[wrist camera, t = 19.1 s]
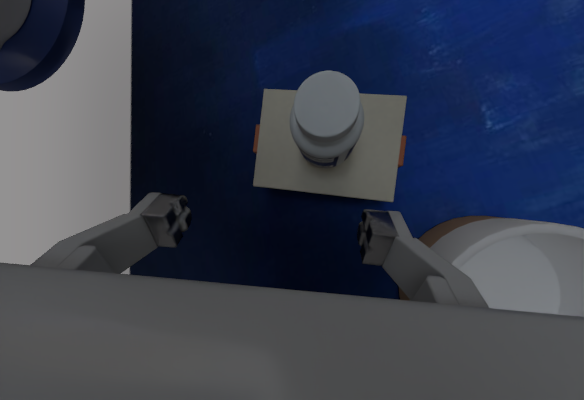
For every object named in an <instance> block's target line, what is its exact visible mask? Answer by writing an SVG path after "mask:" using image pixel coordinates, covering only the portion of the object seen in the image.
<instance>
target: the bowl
mask: <svg viewBox="0 0 584 400" xmlns="http://www.w3.org/2000/svg"><path fill="white" fill-rule="evenodd" d="M418 240H419V241H421V242H422V243H423V244H425V245H426V246H428V247H429V248H430V249H432V250H433V251H434V252H436V253H437V254H438V255H440V256H441V257H442V258H444V259H445V260H447V261H448V262H449V263H451V264H452V265H453V266H455V267H456V268H457V269H459V270H460V271H462V272H463V273H464V274H466V275H467V276H468V277H470V278H471V279H472V281H473V283H474V284H475V286H476V287H477V289H478V291H479V292H480V294H481V295H482V297H483V298H484V300H485V302H486V303H487V305H488V306H489V308H494V309H505V310H515V311H526V312H537V313H548V314H559V315H570V316H581V317H584V229H583V228H580V227H575V226H569V225H563V224H558V223H550V222H541V221H531V220H522V219H513V218H500V217H491V216H466V217H461V218H455V219H452V220H449V221H446V222H444V223H441V224H439V225H437V226H435V227H434V228H432V229H431V230H429V231H427V232H426V233H425V234H424V235H422V236H421V237H420V238H419V239H418ZM399 296H400V300H408V301H411V300H410V299H409V298H408V297H407V295H406V294H405V293H404V292H403V291H402V290H401V288H400V287H399Z"/></svg>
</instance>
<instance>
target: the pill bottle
mask: <svg viewBox="0 0 584 400" xmlns="http://www.w3.org/2000/svg"><path fill="white" fill-rule="evenodd" d="M363 126H364V110H363V106H362V103H361V101H360V95H359V91H358V89H357V87H356V85H355V84H354V82H353V81H352V80H351V79H350V78H349V77H347V76H346V75H344V74H342V73H340V72H336V71H322V72H319V73H316V74H314V75H312V76H310V77H309V78H307V79H306V80H305V81H304V82H303V83H302V84H301V86H300V87H299V89H298V90H297V93H296V95H295V99H294V104H293V107H292V110H291V113H290V130H291V134H292V137H293V139H294V141H295V143H296V145H297V147H298V148H299V150H300V152H301V153H302V155H303V157H304V158H305V159H306V161H307V162H309V163H310V164H311V165H313V166H315V167H318V168H323V169H328V168H333V167H336V166H338V165H340V164H341V163H343V162H344V161H345V160H346V159H347V158H348V157H349V155H350V154H351V152H352V150H353V148H354V146H355V145H356V143H357V141H358V139H359V137H360V135H361V133H362V130H363Z"/></svg>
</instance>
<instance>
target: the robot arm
mask: <svg viewBox="0 0 584 400" xmlns="http://www.w3.org/2000/svg"><path fill="white" fill-rule="evenodd" d="M30 5H31V0H0V49H1V48H2V46H3V44H4V43H5V42H6V41H7V40H8V39H9V38H11V37H12V36H13V35H14V34H15V33H16V32H17V31H18V30H19V29H20V28H21V26H22V25H23V23H24V21H25V19H26V17H27V15H28V12H29V9H30ZM187 204H188V201H187V198H186V197H185V196H184V195H176V194H166V193H154V192H152V193H149V194H148V195H147V196H145V197H144V198H143V199H142V200H141V201H140V202H139V203H138V204H137V205H136V206H135V207H134V208H133V209H132V210H131V211H130V212H129V213H128V214H123V215H121V216H118V217H116V218H114V219H111V220H109V221H106V222H104V223H102V224H99V225H97V226H95V227H93V228H90V229H88V230H85V231H83V232H81V233H78V234H76V235H73V236H71V237H69V238H66V239H64V240H62V241H59V242H58V243H57V244H55V245H54V246H53V247H52V248H51V249H49V250H48V251H47V252H46V253H44V254H43V255H42V256H41V257H40V258H38V259H37V260H36V261H35V262H34V263H32V264H31V265H19V264H8V263H0V400H584V317H581V316H570V315H559V314H548V313H537V312H526V311H515V310H505V309H494V308H489V306H488V305H487V303H486V302H485V300H484V298H483V297H482V295H481V294H480V292H479V291H478V289H477V287H476V286H475V284H474V283H473V281H472V279H471V278H470V277H468V276H467V275H466V274H464V273H463V272H462V271H460V270H459V269H457V268H456V267H455V266H453V265H452V264H451V263H449V262H448V261H447V260H445V259H444V258H442V257H441V256H440V255H438V254H437V253H436V252H434V251H433V250H432V249H430V248H429V247H428V246H426V245H425V244H423V243H422V242H421V241H419V240H418V239H417V238H413V237H412V235H411V233H410V231H409V229H408V227H407V225H406V223H405V221H404V219H403V217H402V215H401V213H400V212H399V211H378V210H364V211H363V212H362V216H361V217H362V222H361V223H359V226H358V230H357V240H358V244H359V245H360V246H361V249H360V254H361V259H362V264H371V265H379V266H382V267H383V268H384V270H385V271H386V272H387V273H388V274H389V275H390V277H391V278H392V279H393V280H394V281H395V283H396V284H397V285H398V286H399V287H400V288H401V290H402V291H403V292H404V293H405V294H406V295H407V297H408V298H409V299H410V300H411V301H408V300H397V299H386V298H375V297H365V296H354V295H343V294H332V293H322V292H311V291H300V290H289V289H278V288H268V287H257V286H246V285H235V284H225V283H214V282H203V281H192V280H182V279H171V278H160V277H149V276H138V275H128V274H120V273H122V272H123V271H125V270H126V269H127V268H129V267H130V266H132V265H133V264H134V263H136V262H137V261H139V260H140V259H142V258H143V257H144V256H146V255H147V254H149V253H150V252H151V251H153V250H154V249H156V248H157V246H162V247H177V245H178V244H179V242H180V240H181V239H182V237H183V234H182V232H184V231H186V230H187V229H188V228H189V226H190V224H191V220H192V214H191V211H190V209H189V208H188V207H186V205H187Z"/></svg>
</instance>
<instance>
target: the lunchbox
mask: <svg viewBox="0 0 584 400" xmlns="http://www.w3.org/2000/svg"><path fill="white" fill-rule="evenodd" d="M296 93H297V91H296V90H276V89H264V95H263V104H262V112H261V121H260V125H256V130H255V139H254V148H253V152H254V153H256V154H257V156H256V165H255V173H254V182H253V186H258V187H266V188H275V189H283V190H292V191H301V192H309V193H318V194H326V195H335V196H344V197H352V198H361V199H369V200H378V201H387V202H393V199H394V191H395V183H396V176H397V168H398V167H401V166H403V159H404V152H405V144H406V136H402V129H403V122H404V114H405V106H406V99H407V96H396V95H376V94H359V95H360V101H361V103H362V106H363V110H364V126H363V130H362V133H361V135H360V137H359V139H358V141H357V143H356V145H355V146H354V148H353V150H352V152H351V154H350V155H349V157H348V158H347V159H346V160H345V161H344V162H343V163H341V164H340V165H338V166H336V167H333V168H328V169H323V168H318V167H315V166H313V165H311V164H310V163H309V162H307V161H306V159H305V158H304V157H303V155H302V153H301V152H300V150H299V148H298V147H297V145H296V143H295V141H294V139H293V137H292V134H291V130H290V113H291V110H292V107H293V104H294V99H295V95H296Z"/></svg>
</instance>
